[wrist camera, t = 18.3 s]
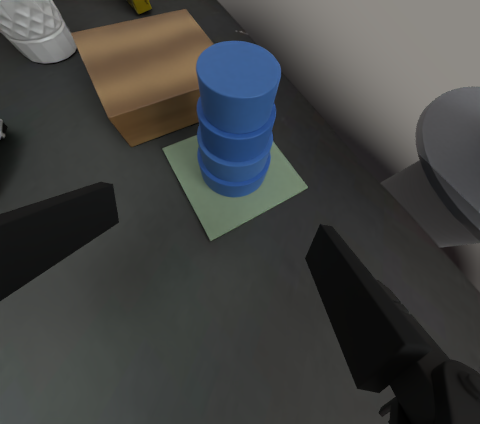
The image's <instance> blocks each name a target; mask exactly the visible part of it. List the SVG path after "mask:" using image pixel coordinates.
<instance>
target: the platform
mask: <svg viewBox="0 0 480 424" xmlns="http://www.w3.org/2000/svg"><path fill="white" fill-rule="evenodd" d="M71 35H72V37H73V40H74V42H75V44H76V46H77V49H78V51H79V53H80V55H81V58H82V60H83V62H84V64H85V67H86V69H87V71H88V73H89V76H90V78H91V80H92V83H93V85H94V87H95V89H96V92H97V94H98V96H99V98H100V101H101V103H102V105H103V107H104V110H105V112H106V114H107V116H108V118H109V120H110V121H111V122H112V124H113V125H114V126H115V127H116V129H117V130H118V131H119V132H120V134H121V135H122V136H123V138H124V139H125V140H126V141H127V143H128V144H129V145H130V146H131V147H133V146H136V145H139V144H141V143H144V142H147V141H149V140H152V139H155V138H157V137H160V136H163V135H165V134H168V133H171V132H174V131H176V130H179V129H182V128H184V127H187V126H190V125H192V124H195V123H198V122H199V120H198V115H197V102H198V99H199V97H200V91H199V84H198V78H197V72H196V63H197V60H198V57H199V56H200V54H201V53H202V52H203V51H204V50H205V49H206V48H208V47H210V46H212V45H214V44H213V43H212V41H211V40H210V39H209V38H208V36H207V35H206V34H205V33H204V31H203V30H202V29H201V28H200V26H199V25H198V24H197V23H196V21H195V20H194V19H193V17H192V16H191V15H190V14H189V12H188V11H187V10H186V9H183V10H178V11H174V12H169V13H164V14H159V15H155V16H150V17H145V18H140V19H136V20H131V21H126V22H121V23H117V24H112V25H107V26H102V27H97V28H93V29H88V30H83V31H78V32H74V33H71Z"/></svg>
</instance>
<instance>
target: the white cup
mask: <svg viewBox="0 0 480 424" xmlns="http://www.w3.org/2000/svg"><path fill="white" fill-rule="evenodd" d="M0 33H1V34H3V35H4V36H5V37H6V38H7V39H8V40H9V41H10V42H11V43H12V44H13V45H14V46H15V47H16V48H17V49H18V50H19V51H20V52H21V53H22V54H23V55H24V56H25V57H26V58H28V59H29V60H31V61H33V62H37V63H43V64H47V63H56V62H59V61H62V60H64V59H67V58H69V57H70V56H71V55H72V54H73V53H75V51H76V48H77V46H76V44H75V42H74V40H73V37H72V35H71V32H70V30H69V28H68V27H67V25H66V24H65V22H64V20H63V19H62V16H61V14H60V12H59V10H58V9H57V7H56V6H55V4H54V2H53V0H0Z"/></svg>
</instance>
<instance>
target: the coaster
mask: <svg viewBox="0 0 480 424" xmlns="http://www.w3.org/2000/svg"><path fill="white" fill-rule="evenodd" d="M198 147H199V145H198V140H197V135H196V136H193V137H190V138H188V139H185V140H183V141H180V142H177V143H175V144H172V145H170V146H167V147H165V148H162V149H163V151H164V153H165V155H166V157H167V159H168V161H169V163H170V165H171V167H172V168H173V170H174V172H175V174H176V176H177V178H178V180H179V182H180V184H181V186H182V188H183V190H184V191H185V193H186V195H187V197H188V199H189V201H190V203H191V205H192V207H193V209H194V211H195V212H196V214H197V216H198V218H199V220H200V222H201V224H202V226H203V228H204V230H205V232H206V233H207V235H208V237H209V239H210V241H212V240H214V239H216V238H218V237H220V236H222V235H223V234H225V233H227V232H229V231H231V230H232V229H234V228H236V227H238V226H240V225H242V224H243V223H245V222H247V221H249V220H251V219H253V218H254V217H256V216H258V215H260V214H262V213H264V212H265V211H267V210H269V209H271V208H273V207H275V206H276V205H278V204H280V203H282V202H284V201H285V200H287V199H289V198H291V197H293V196H295V195H296V194H298V193H300V192H302V191H304V190H306V189H307V188H308V187H307V185H306V184H305V183H304V182H303V180H302V179H301V178H300V176H299V175H298V174H297V172H296V171H295V170H294V168H293V167H292V166H291V164H290V163H289V162H288V160H287V159H286V158H285V156H284V155H283V154H282V153H281V151H280V150H279V149H278V147H277V146H276V145H275V143H274V142H273V143H272V147H271V150H270V154H271V161H270V165H269V168H268V171H267V173H266V176H265V178H264V180H263V182H262V184H261V185H260V187H259V188H258V189H257V190H255V191H254V192H252V193H251V194H248V195H246V196H242V197H226V196H223V195H220V194H218V193H216V192H214V191H213V190H212V189H210V188H209V187H208V185H207V184H206V183H205V181H204V179H203V177H202V174H201V170H200V167H199V163H198V158H197V152H198Z"/></svg>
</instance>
